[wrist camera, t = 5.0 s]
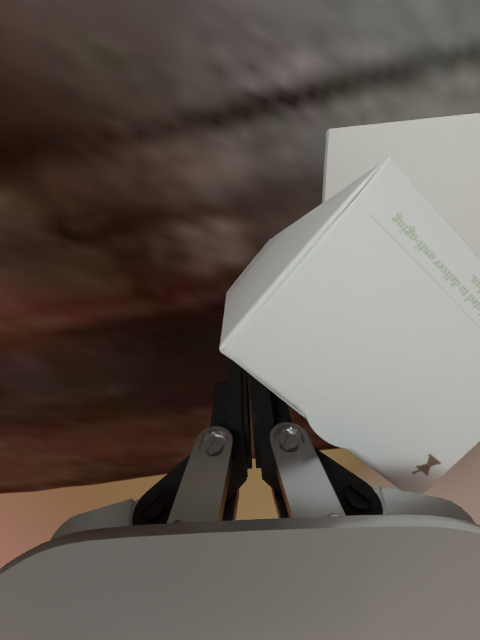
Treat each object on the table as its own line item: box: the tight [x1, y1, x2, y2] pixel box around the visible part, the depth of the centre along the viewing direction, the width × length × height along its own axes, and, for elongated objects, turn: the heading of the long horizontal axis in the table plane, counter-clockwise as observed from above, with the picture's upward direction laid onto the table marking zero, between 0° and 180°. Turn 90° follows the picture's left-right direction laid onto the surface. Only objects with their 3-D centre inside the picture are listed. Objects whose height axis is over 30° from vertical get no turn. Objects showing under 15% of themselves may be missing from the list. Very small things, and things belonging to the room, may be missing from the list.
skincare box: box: [219, 157, 480, 494], centre depth 14 cm, size 8×7×16 cm
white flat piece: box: [322, 113, 480, 257], centre depth 21 cm, size 24×19×3 cm
